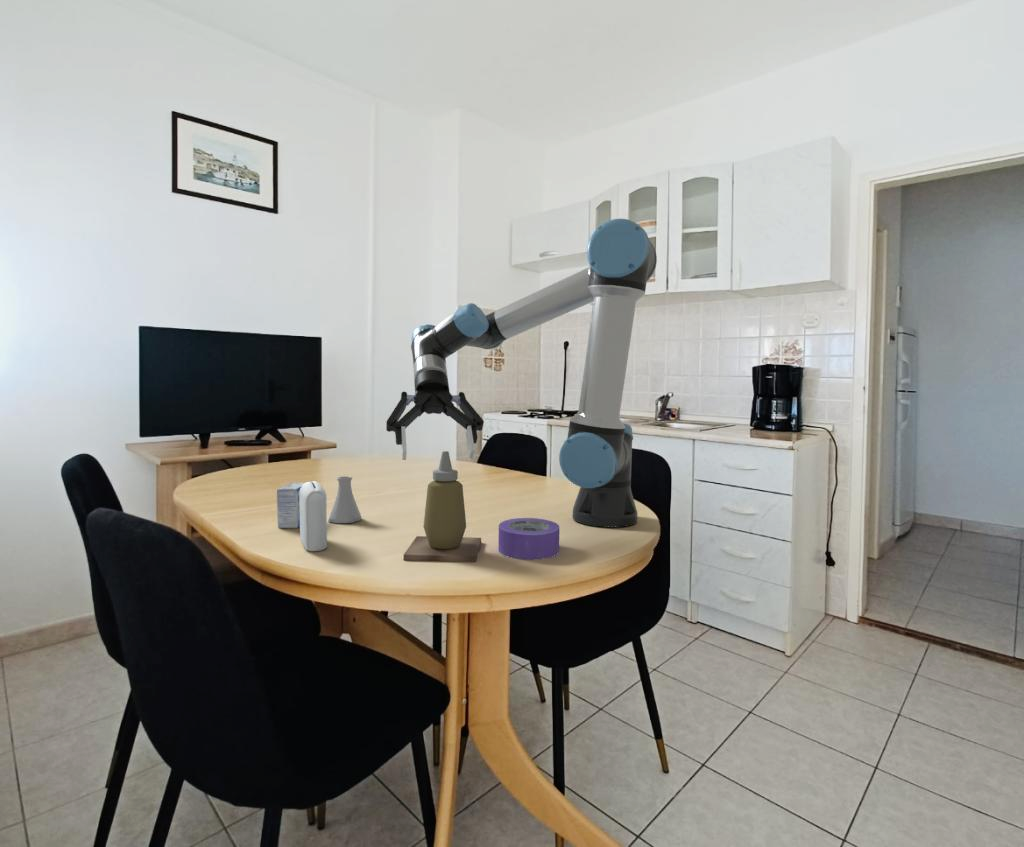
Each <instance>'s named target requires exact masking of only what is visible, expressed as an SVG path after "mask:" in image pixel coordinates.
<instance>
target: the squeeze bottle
mask: <svg viewBox="0 0 1024 847" xmlns="http://www.w3.org/2000/svg"><path fill="white" fill-rule="evenodd" d="M440 456H441V457H440V461H439V464H438V465H439V466H438V469H434V470H433V471H432V480H433V481H431V482H429V483H428V484H427V490H426V500H425V509H424V518H423V526H422V527H423V530H424V532H425V536H427V539H428V542H429V545H430V547H432V548H437V549H451V548H456V547H458V546H460V544H461V541H462V538H463V537H464V535H465V532H466V528H467V519H466V518H467V517H466V509H465V498H464V487H463V483H461V482H460V481H459V480H458V479H459V478H458V477H459V476H458V475H459V474H458V473H459V472H458V470H457V469H453V466H452V461H451V456H450V452H449V451H447V450H446V451H445V450H443V451H442V452H441V455H440Z"/></svg>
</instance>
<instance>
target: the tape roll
mask: <svg viewBox="0 0 1024 847" xmlns="http://www.w3.org/2000/svg"><path fill="white" fill-rule="evenodd" d="M560 529H561V528H560V525H559V524H558V523H557V522H555V521H552V520H548V519H543V518H537V517H519V518H509V519H505V520H503V521H501V522H500V523H499V524H498V543H497V544H498V546H497V547H498V552H499V553H500V554H501V555H503V556H505V557H507V556H508V557H507V558H511V557H512V559H516V560H517V559H518V560H525V559H527V560H528V561H530V560H531V561H534V559H537V560H544V559H543V558H546V559H549V557H550V558H553V557H555V556H557V555H558V554H559V553H560ZM558 552H559V553H558ZM557 553H558V554H557ZM556 554H557V555H556ZM554 555H555V556H554ZM552 556H553V557H552Z"/></svg>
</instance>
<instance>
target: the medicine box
mask: <svg viewBox="0 0 1024 847" xmlns="http://www.w3.org/2000/svg"><path fill="white" fill-rule="evenodd" d="M304 483H305V482H291V483H289V484H288V485H284V486H283V487H280V488H278V489H277V490H276V508H277V509H276V510H277V511H276V512H277V515H276V516H277V528H278V529H299V528H300V495H299V493H300V489H301V487H302V485H303V484H304ZM298 527H299V528H298Z"/></svg>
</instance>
